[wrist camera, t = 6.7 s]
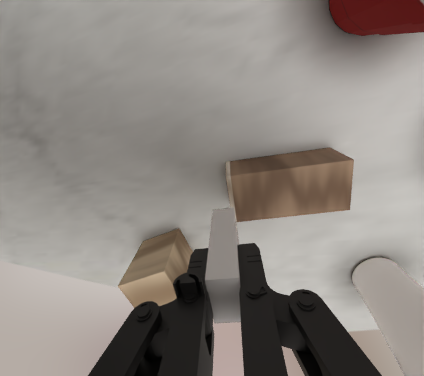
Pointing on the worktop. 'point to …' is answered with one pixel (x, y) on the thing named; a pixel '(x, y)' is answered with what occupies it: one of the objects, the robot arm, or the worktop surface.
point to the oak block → (156, 269)
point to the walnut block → (289, 184)
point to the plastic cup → (378, 16)
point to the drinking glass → (395, 309)
